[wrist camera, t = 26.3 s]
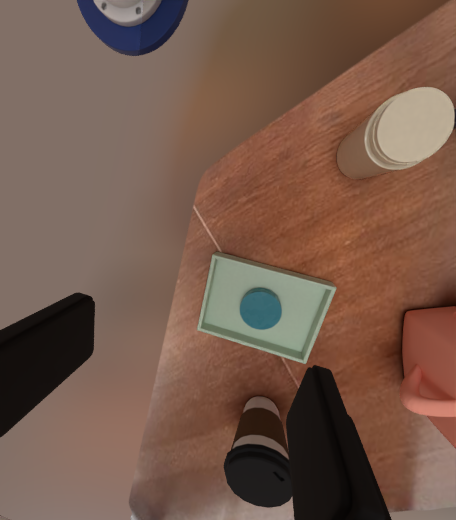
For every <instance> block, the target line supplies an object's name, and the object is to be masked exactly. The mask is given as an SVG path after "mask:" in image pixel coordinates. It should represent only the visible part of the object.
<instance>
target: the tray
mask: <svg viewBox="0 0 456 520" xmlns="http://www.w3.org/2000/svg"><path fill="white" fill-rule="evenodd" d="M254 288H266V289H269V290H271V291H273V292H274V293H275V294H276V295H277V296H278V298H279V299H280V302H281V309H282V315H281V318H280V320H279V322H278V323H277V324H276V325H275V326H273V327H272V328H269V329H265V330H259V329H255V328H252V327H250V326H248V325H247V324H246V323H245V322H244V321H243V319H242V318H241V315H240V304H241V301H242V298H243V296H244V295H245V294H246V293H247V292H248V291H249V290H251V289H254ZM335 291H336V287H335V285H334V284H333V283H332V282H330V281H326V280H323V279H319V278H315V277H311V276H307V275H304V274H300V273H296V272H292V271H289V270H285V269H281V268H277V267H274V266H270V265H266V264H262V263H258V262H255V261H251V260H247V259H243V258H240V257H236V256H232V255H228V254H225V253H221V252H217V251H216V252H215V253H214V254H213V255H212V260H211V265H210V269H209V274H208V279H207V284H206V289H205V294H204V298H203V303H202V308H201V313H200V318H199V323H198V327H197V330H199V331H202V332H205V333H208V334H212V335H215V336H218V337H221V338H224V339H227V340H231V341H234V342H237V343H240V344H243V345H247V346H250V347H253V348H256V349H259V350H263V351H266V352H269V353H272V354H275V355H279V356H282V357H285V358H288V359H291V360H294V361H298V362H301V363H304V364H306V362H307V359H308V357H309V354H310V352H311V349H312V347H313V344H314V342H315V340H316V337H317V335H318V332H319V330H320V327H321V325H322V322H323V320H324V317H325V315H326V313H327V310H328V308H329V305H330V303H331V300H332V298H333V295H334V293H335Z"/></svg>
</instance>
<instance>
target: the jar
mask: <svg viewBox="0 0 456 520" xmlns="http://www.w3.org/2000/svg"><path fill="white" fill-rule="evenodd" d="M454 118H455V112H454V107H453V104H452V102H451V100H450V98H449V97H448V96H447V95H446V94H445V93H444V92H442V91H440V90H438V89H436V88H431V87H420V88H415V89H412V90H409V91H407V92H404V93H401V94H398V95H395V96H393V97H391V98H390V99H388V100H387V101H385V102H384V103H383V104H382V105H380V106H379V107H378V108H377V109H376V110H375V111H374V112H372V113H371V114H370V115H369V116H368V117H367V118H366V119H364V120H363V121H362V122H361V123H360V124H359V125H358V126H356V127H355V128H354V129H353V130H352V131H351V132H350V133H348V134H347V135H346V136H345V137H344V139H343V140H342V142H341V143H340V145H339V148H338V151H337V164H338V167H339V169H340V170H341V172H342V173H343V174H344V175H345V176H347V177H349V178H352V179H357V180H361V179H367V178H370V177H374V176H378V175H382V174H386V173H390V172H394V171H398V170H402V169H406V168H409V167H412V166H414V165H416V164H418V163H420V162H421V161H423V160H424V159H426V158H428V157H430V156H431V155H432V154H434V153H435V152H437V151H438V150H439V149H440V147H441V146H442V145H443V144H444V143H446V141H447V139H448V137H449V135H450V134H451V133H452V130H453V127H454V123H455V122H454Z"/></svg>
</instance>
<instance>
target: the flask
mask: <svg viewBox="0 0 456 520" xmlns="http://www.w3.org/2000/svg"><path fill="white" fill-rule="evenodd" d="M454 112H455V118H454V122H455V123H454V127H453V129H456V109H454Z"/></svg>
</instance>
